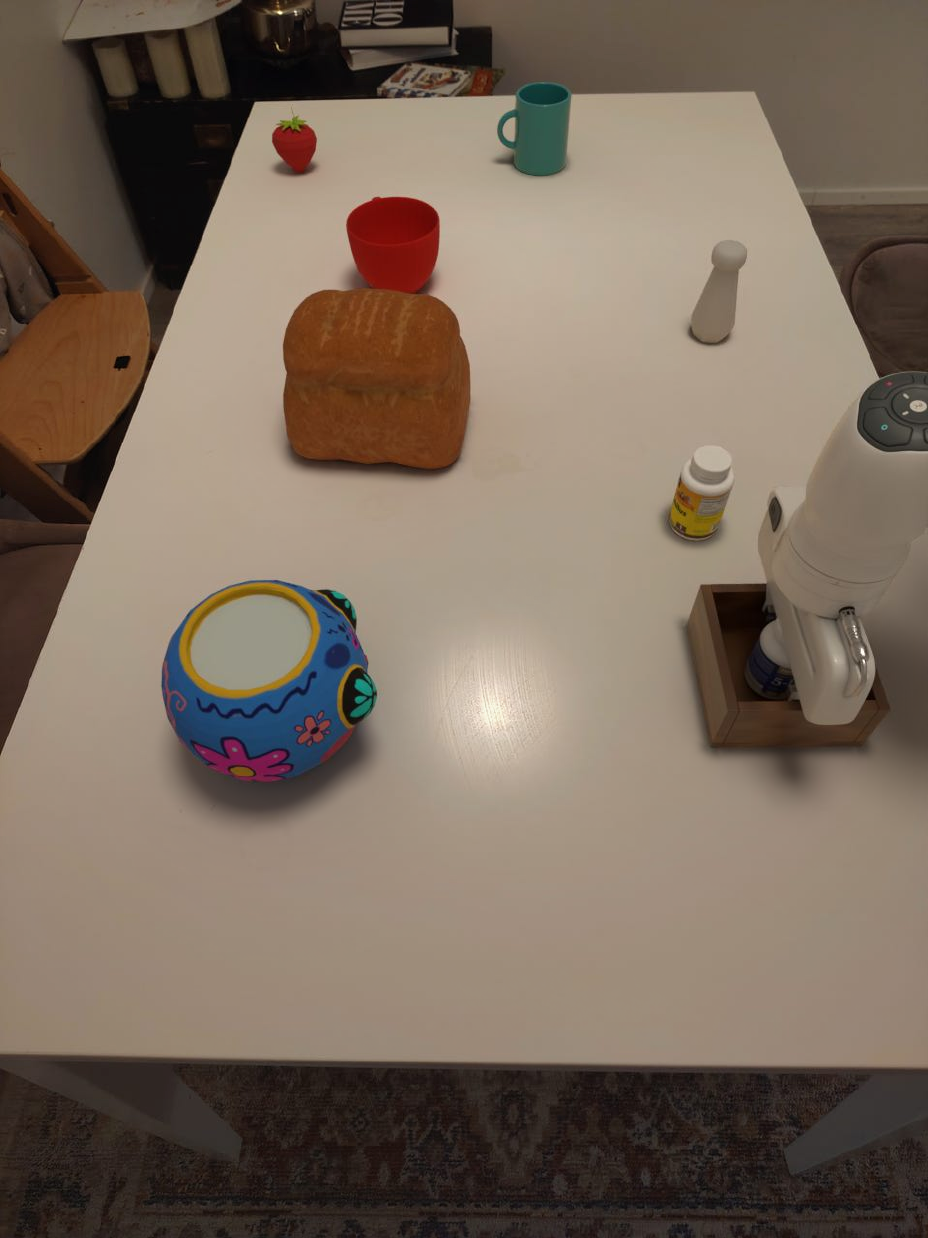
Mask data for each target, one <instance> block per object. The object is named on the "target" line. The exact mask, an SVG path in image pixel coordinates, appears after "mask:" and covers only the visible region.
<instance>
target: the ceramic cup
mask: <svg viewBox="0 0 928 1238" xmlns="http://www.w3.org/2000/svg"><path fill="white" fill-rule="evenodd" d="M440 223H441V221H440V216H439V212H438V211H437V210H436V209H435V207H433V206H432V205H431V204H429V203H427V202H426V201H423V200H421V199H417V198H413V197H407V196H387V197H385V196H384V197H380V196H373V197H372V198H371V200H369V201H366V202H364V203H361V204H360V205H358V206H357V207H355V208H354V209H353V210H352V211H351V212H350V213H349V214H348V217H347V218H346V223H345V227H346V228H345V229H346V234H347V239H348V243H349V247H350V251H351V255H352V258H353V261H354V264H355V266H356V268H357V270H358V272H359V274H360V275H361V277H362V278H363V280H364V281H365V282H366V283H367V284H368V285H369V286H370V287H371V288H372V289H387V290H394V291H399V292H404V293H409V294H417V292H419V291H420V289H421V288H423V287H424V285H425V284H426V283H427V282H428V280H429V279H430V278H431V276H432V274H433V273H434V269H435V266H436V264H437V261H438V257H439V250H440V237H441V236H440V234H441V233H440V232H441V230H440V229H441V227H440V225H441V224H440Z"/></svg>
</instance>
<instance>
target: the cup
mask: <svg viewBox="0 0 928 1238" xmlns="http://www.w3.org/2000/svg"><path fill="white" fill-rule="evenodd" d="M572 96H573V95H572V92H571V90H570V89H569V88H568V87H567V86H565V85H562V84H560V83H557V82H551V81H550V82H549V81H538V82H536V81H535V82H532V83H531V82H530V83H527V84H524V85H522V86H520V87H519V88H518V89H517V91H515V101H514V102H515V103H514V104H515V106H514V109H511V110H508V111H506V112H505V113H504V114H503V115H502V116H501V117H500V119H499V120H498V123H497V127H496V134H497V138H498V140H499V142H500V143H501V144H502V146H504V147H506V148H507V149H510V150H513V164H514V166H515V168H516V169H517V170H518V171H519V172H521V173H523V174H526V175H529V176H536V177H545V176H551V175H555V174H557V173H560V172H561V171H562V170H563V169H565V167H566V164H567V157H568V146H569V145H568V143H569V133H570V132H569V131H570V121H571V120H570V119H571V109H572ZM512 118H514V134H513V135H514V136H513V137H514V138H513V141H511V140H508V138H506V136H505V135H504V127H505V124H506V123H507V121H509V120H511V119H512Z"/></svg>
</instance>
